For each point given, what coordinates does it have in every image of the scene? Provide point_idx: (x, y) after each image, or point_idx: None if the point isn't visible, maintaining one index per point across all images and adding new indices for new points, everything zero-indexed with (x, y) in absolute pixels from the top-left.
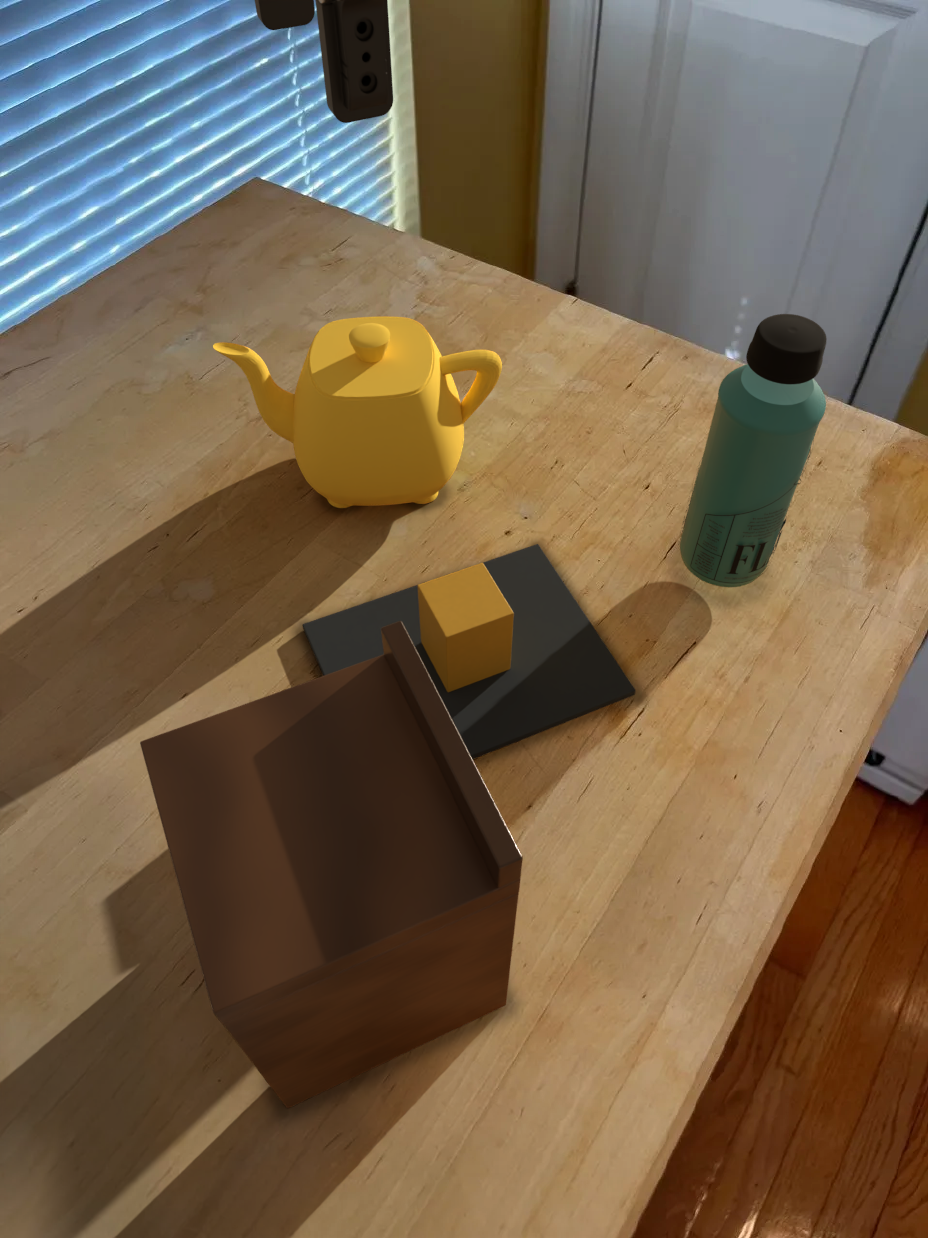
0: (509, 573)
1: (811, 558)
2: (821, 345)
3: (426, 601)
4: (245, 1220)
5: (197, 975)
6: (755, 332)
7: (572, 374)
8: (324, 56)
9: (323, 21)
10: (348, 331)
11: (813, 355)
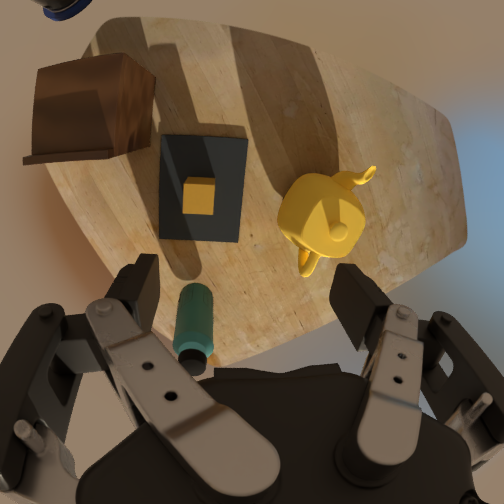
0: (229, 225)
1: None
2: None
3: (204, 184)
4: None
5: None
6: (200, 359)
7: (313, 298)
8: (139, 273)
9: (122, 290)
10: (354, 226)
11: None
